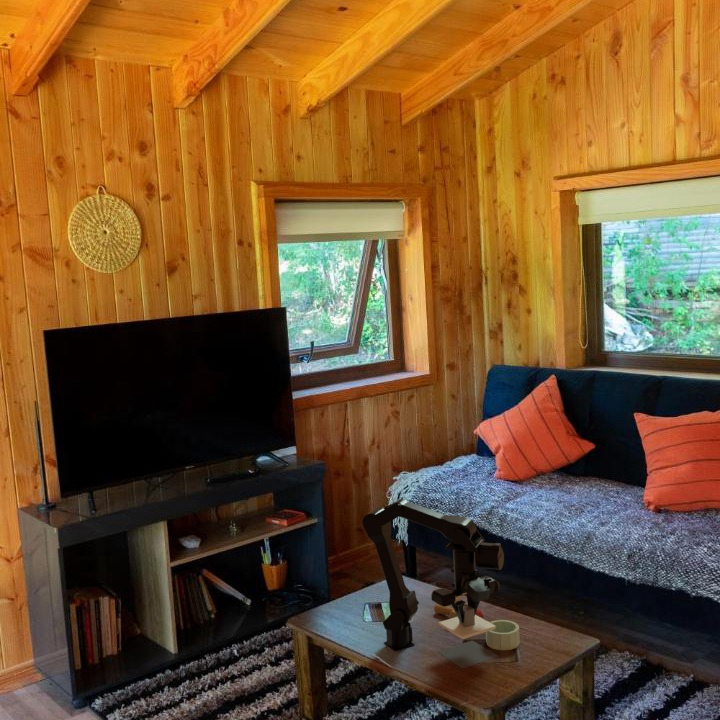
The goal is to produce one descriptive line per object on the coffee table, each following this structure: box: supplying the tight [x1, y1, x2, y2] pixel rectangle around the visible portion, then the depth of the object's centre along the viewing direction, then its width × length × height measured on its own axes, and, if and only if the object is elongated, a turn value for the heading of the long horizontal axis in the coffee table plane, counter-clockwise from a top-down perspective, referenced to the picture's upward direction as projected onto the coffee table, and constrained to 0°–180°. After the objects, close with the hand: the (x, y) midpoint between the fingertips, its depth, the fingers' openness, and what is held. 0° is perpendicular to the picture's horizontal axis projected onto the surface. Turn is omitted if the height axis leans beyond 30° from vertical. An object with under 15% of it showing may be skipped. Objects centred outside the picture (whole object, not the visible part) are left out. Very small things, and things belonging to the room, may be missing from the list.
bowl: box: [485, 619, 521, 651], centre depth 251 cm, size 9×9×5 cm
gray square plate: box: [437, 640, 500, 669], centre depth 246 cm, size 12×12×1 cm
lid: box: [438, 605, 496, 640], centre depth 244 cm, size 11×11×5 cm
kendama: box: [433, 602, 485, 620], centre depth 268 cm, size 8×6×18 cm
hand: (466, 621), depth 244 cm, fingers closed on lid, 3 cm apart
